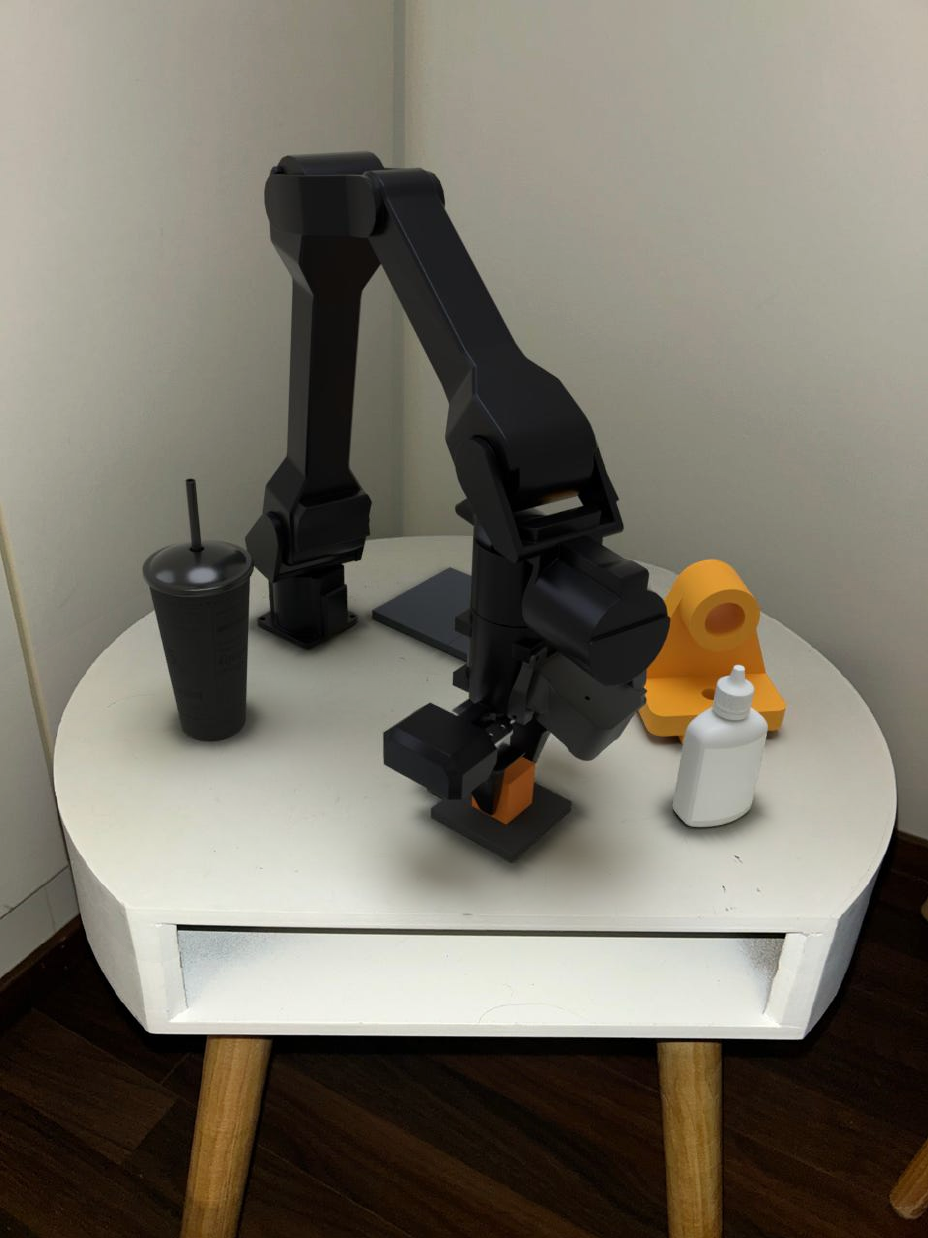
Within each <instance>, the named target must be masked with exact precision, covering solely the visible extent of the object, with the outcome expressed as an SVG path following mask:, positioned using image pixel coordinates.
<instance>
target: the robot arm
mask: <svg viewBox="0 0 928 1238" xmlns="http://www.w3.org/2000/svg"><path fill="white" fill-rule="evenodd" d="M442 185H443V184H442V182H441V180H440V179H439V177H438V176H437V175H436V174H435V173H434V172H432V171H429V170H426V169H424V168H422V167H384V164H383V163H382V161H381V159H380V158H379V157H378V155H376V154H375V152H372V151H370V150H357V151H339V152H337V151H336V152H321V153H304V154H287V155H285V156H282V157H281V158H280V160H279V161H278V163H277V165H274V166H272V167H271V169H270V171H269V175H268V177H267V178H266V181H265V185H264V191H263V199H264V200H263V201H264V202H263V203H264V207H265V213H266V217H267V219H268V222H269V237H270V242H271V244H272V246H273V247H274V249H275V251H276V253H277V254H278V256H279V258H280V260H281V261H282V263H283V264H284V267H285V268H286V270H287V272H288V273H289V275H290V276H291V282H292V283H291V286H292V287H291V288H292V289H291V291H292V292H291V316H290V317H291V319H290V345H289V346H290V347H289V348H290V349H289V375H288V376H289V378H288V379H289V380H288V406H287V408H288V411H287V414H288V415H287V437H286V438H287V439H286V440H287V442H286V455H285V457H284V459H283V460H282V461H281V463H280V464H279V466H278V467H277V469H276V470H275V471H274V473H273V474H272V475H271V477H270V479H269V480H268V481H267V483H266V484H265V488H264V496H263V503H262V511H261V513H262V514H261V515H260V516H259V518H258V519H257V520H256V522H255V523H254V524H253V526H252V527H251V528H250V530H249V531H248V533H247V534H246V535H245V536H244V542H245V543H244V544H245V547H246V550H247V551H248V552H249V553H250V554H251V556H252V558H253V561H254V569H256V570H257V572H259V573H260V574H261V575H262V576H263V577H264V578H265V579H267V581H268V582H267V584H268V598H269V599H268V601H269V611H268V612H266V613H264V614H262V615H260V616H258V617H257V618H256V623H257V624H256V625H258V626H260V627H262V628H263V629H265V630H267V631H270V632H271V633H273V634H275V635H277V636H280V637H281V638H283V639H286V640H287V641H289V642H291V643H293V644H295V645H297V646H299V647H301V648H304V649H311V648H313V647H315V646H317V645H319V644H320V643H323V642H324V641H326V640H328V639H329V638H331V637H333V636H335V635H337V634H339V633H340V632H342V631H344V630H345V629H347V628H349V627H351V626H352V625H354V624H356V623H358V621H359V616H358V614H356V613H354V612H352V611H349V610H348V609H349V608H348V607H349V605H348V604H349V603H348V602H349V601H348V600H349V599H348V585H347V584H346V581H345V580H346V579H345V578H346V577H345V565H344V564H347V563H351V562H359V561H362V559H363V554H364V550H365V546H366V541H367V537H370V536H371V527H370V523H371V519H370V514H371V508H372V505H373V501H372V499H371V497H370V495H369V494H368V493H367V492H366V491H365V490H364V488H363V486H362V484H361V483H360V482H359V481H358V479H357V478H356V476H355V474H354V472H353V470H352V469H351V466H350V464H351V463H350V460H351V447H352V446H351V445H352V432H353V421H354V419H353V418H354V406H355V392H356V378H357V368H358V367H357V366H358V352H359V338H360V324H361V311H362V300H363V299H362V297H363V293H364V292H363V291H364V290H365V288H366V286H367V285H368V284H369V283H370V281H371V279H372V278H373V277H374V276H375V274H376V272H377V271H378V269H380V266H381V267H382V269H383V271H384V273H385V275H386V277H387V280H388V281H389V283H390V285H391V287H392V289H393V292H394V293H395V295H396V297H397V299H398V301H399V303H400V305H401V307H402V309H403V311H404V312H405V315H406V316H407V319H408V321H409V323H410V325H411V327H412V329H413V331H414V333H415V335H416V337H417V338H418V340H419V343H420V345H421V347H422V349H423V351H424V352H425V355H426V357H427V358H428V360H429V362H430V364H431V366H432V369H433V370H434V373H435V375H436V376H437V379H438V380H439V383H440V385H441V386H442V390H443V392H444V395H445V397H446V400H447V402H448V408H447V409H448V411H447V418H446V426H445V433H444V441H445V443H446V446H447V449H448V453H449V454H450V457H451V459H452V462H453V465H454V467H455V468H454V469H455V474H456V478H457V481H458V483H459V486H460V488H461V490H462V492H463V494H464V495H465V497H466V498H465V499H463V500H461V501H459V502H457V503H456V504H455V506H454V511H455V513H456V515H457V516H458V517H460V518H461V519H463V520H465V521H466V522H468V523H469V524H470V525H471V526H472V527H473V533H472V534H473V535H472V550H471V551H472V553H471V573H470V576H471V592H470V608H469V609H467V610H466V611H464V612H463V613H461V614H459V615H458V616H456V617H455V631H456V632H459V633H461V634H463V635H465V636H468V654H467V661H466V663H464V664H463V665H462V666H459V668H457V669H455V670H453V672H452V686H453V687H455V688H458V689H459V690H461V691H464V692H466V693H467V694H468V698H467V699H465V700H464V701H463V702H462V703H460V704H458V705H457V706H456V707H454V708H452V710H451V712H450V711H449V710H446V709H445V708H443V707H441V706H440V705H437V704H435V703H432V702H428V703H426V704H424V705H422V706H421V707H418V709H416V710H414V711H413V712H411V713H410V714H408V715H406V717H404V718H402V719H401V720H399V721H398V722H396V723H395V724H394V725H392V726H391V727H389V728H387V729H386V730H385V731H383V732H382V759H383V761H382V762H383V765H384V766H386V767H387V768H389V769H391V770H392V771H394V772H397V773H398V774H400V775H402V776H404V777H405V778H407V779H409V780H411V781H412V782H414V783H417V784H418V785H420V786H422V787H424V788H425V789H426V790H427V789H429V790H431V791H432V792H434V793H436V794H438V795H440V796H441V797H443V798H445V799H447V800H462V799H463V798H464V797H465V796H467V795H468V794H469V793H470V792H471V794H472V796H473V798H474V799H475V801H476V803H477V805H478V807H479V809H480V810H481V811H483V812H485V813H487V814H488V815H493V814H494V813H495V812H496V809H497V806H498V802H499V799H500V794H501V788H502V783H503V778H504V773H505V769H507V768H508V767H509V766H510V765H512V764H513V763H514V762H515V761H517V760H518V759H519V758H520V757H524V758H525V759H527V760H529V761H531V762H533V763H535V766H536V764H537V763H538V760H539V758H540V756H541V755H542V754H541V753H542V751H543V749H544V748H545V746H546V744H547V741H548V739H549V737H550V735H553V736H554V737H555V738H556V739H557V740H558V741H559V742H560V743H562V744H563V745H564V746H565V747H566V748H567V751H568V752H569V753H570V754H571V755H572V756H573V757H574V758H576V759H578V760H580V761H583V762H591V761H593V760H595V759H596V758H597V757H599V755H600V754H601V753H602V752H603V751H604V750H606V749H607V748H608V747H609V746H610V745H611V744H613V743H614V742H615V741H617V740H618V739H620V737H621V736H622V734H623V733H624V731H625V730H626V728H627V726H628V725H629V724H630V722H631V720H632V719H633V717H634V716H635V715H636V713H637V712H639V711H638V710H639V709H640V708H641V707H643V706H644V705H645V704H646V702H647V699H646V696H645V694H646V693H647V690H646V689H645V688H644V686H645V684H646V679H647V668H648V667H649V666H650V665H651V664H652V662H653V661H654V660H655V659H656V657H657V656H658V654H659V653H660V651H661V650H662V647H663V645H664V643H665V641H666V639H667V635H668V632H669V628H670V617H669V616H668V612H667V606H666V604H665V602H664V600H665V599H664V598H663V596H662V597H661V595H659V593H657V592H656V591H654V590H652V589H651V588H649V587H648V586H649V581H650V572H649V569H648V568H647V567H645V566H643V565H642V564H641V563H638V562H637V561H635V560H633V559H629V558H626V557H623V556H622V555H619V554H618V553H616V552H615V551H614V550H611V549H610V548H608V547H607V546H605V545H603V544H604V543H603V542H604V538H607V537H610V536H614V535H617V534H621V533H622V532H624V529H625V525H624V522H623V518H622V516H621V512H620V509H619V506H618V503H617V502H619V501H620V497H619V495H618V494H617V491H616V489H615V487H614V484H613V483H612V480H611V478H610V476H609V474H608V472H607V469H606V465H605V462H604V459H603V456H602V453H601V450H600V445H599V444H598V441H597V437H596V433H595V431H594V429H593V425H592V424H591V422H590V420H589V419H588V417H587V415H586V414H585V412H584V411H583V410H582V408H581V407H580V405H579V404H578V403H577V401H576V400H575V399H574V396H572V395H571V393H570V392H569V390H568V388H567V387H566V386H565V385H564V384H563V381H561V379H560V378H558V377H557V376H556V375H554V374H552V373H551V372H550V371H548V370H547V369H545V368H543V367H542V366H541V365H539V364H537V363H535V362H534V361H532V360H531V359H529V358H528V357H527V356H526V355H525V354H524V352H523V351H522V350H521V348H520V347H519V345H518V343H517V342H516V340H515V338H514V336H513V334H512V332H511V331H510V328H509V327H508V325H507V323H506V322H505V319H504V317H503V315H502V314H501V312H500V309H499V308H498V306H497V304H496V302H495V300H494V299H493V296H492V295H491V293H490V291H489V289H488V287H487V285H486V283H485V281H484V280H483V278H482V275H481V274H480V272H479V270H478V268H477V267H476V265H475V263H474V260H473V259H472V257H471V255H470V253H469V252H468V249H467V247H466V245H465V244H464V242H463V240H462V238H461V236H460V234H459V232H458V231H457V229H456V227H455V225H454V223H453V221H452V219H451V217H450V215H449V213H448V211H447V210H446V199H445V198H446V197H445V191H444V188H443V186H442ZM576 497H577V498H578V499H579V501H580V503H581V506H577V507H573V508H568V509H566V510H562V511H558V512H554V513H550V514H547V513H545V512H543V511H542V510H540V509H539V508H537V507H541V506H546V505H550V504H553V503H556V502H560V501H565V500H568V499H571V498H572V499H573V498H576Z"/></svg>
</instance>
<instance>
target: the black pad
mask: <svg viewBox="0 0 928 1238" xmlns="http://www.w3.org/2000/svg"><path fill="white" fill-rule="evenodd" d="M535 773H536V765H535V763H533V762H531V761H529V760H527V759H525V758H524V757H520V758H519V759H518V760H517V761H515V762H514V763H513V764H512V765H510V766H509V767H508V768H507V769H505V773H504V778H503V783H502V788H501V794H500V799H499V802H498V806H497V809H496V812H495V813H494V814H493V815H488V814H487V813H485V812H483V811H481V810H480V809H479V807H478V805H477V803H476V801H475V799H474V798H473V796H472V794H471V792H470V793H469V794H468V795H467V796H465V797H464V798H463V799H462V800H447V799H445V798H443V797H441V796H440V795H438V794H436V793H434V792H432V791H431V790H429V789H427V788H426V790H427V791H428V792H429V793H431V794H433V795H434V796H437V797H438V798H440V800H439V801H438V802H436V804H434V805H433V806H431V808H430V817H431V818H432V819H434V820H436V821H437V822H439V823H441V824H442V825H444V826H446V827H448V828H450V829H452V830H453V831H455V832H457V833H458V834H460V835H462V836H464V837H465V838H468V839H469V840H472V842H474V843H476V844H478V845H479V846H481V847H483V848H485V849H486V850H488V851H490V852H492V853H493V854H495V855H497V856H499V857H501V858H502V859H504V860H505V861H507V862H509V863H512V864H513V863H514V862H515V861H516V860H517V859H518V858H519V857H520V856H522V855H523V854H524V853H525V852H526V851H527V850H528V849H530V848H531V847H532V846H533V845H534V844H535V843H536V842H537V841H539V839H540V838H542V837H543V836H544V835H545V834H546V833H547V832H549V831H550V830H551V829H552V828H553V827H554V826H555V825H556V824H557V823H558V822H560V821H561V820H562V819H563V818H564V817H566V815H567V814H568V813H569V812H570V811H571V810H572V804H573V803H572V801H571V800H569V799H568V798H565V797H564V796H562V795H560V794H558V793H556V792H555V791H552V790H550V789H548V788H546V787H544V786H543V785H541V784H538V783H537V782H535V775H536V774H535Z"/></svg>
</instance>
